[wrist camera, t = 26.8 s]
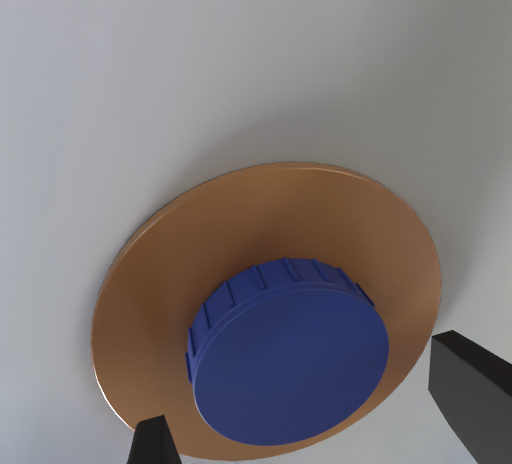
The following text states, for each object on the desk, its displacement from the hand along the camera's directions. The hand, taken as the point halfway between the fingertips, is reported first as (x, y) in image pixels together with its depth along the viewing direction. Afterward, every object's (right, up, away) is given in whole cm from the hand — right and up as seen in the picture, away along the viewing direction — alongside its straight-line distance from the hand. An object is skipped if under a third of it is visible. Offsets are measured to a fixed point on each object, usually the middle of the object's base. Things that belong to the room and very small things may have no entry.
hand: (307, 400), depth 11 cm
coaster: (-1, +1, +3) cm, 3 cm away
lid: (0, +1, +1) cm, 1 cm away
